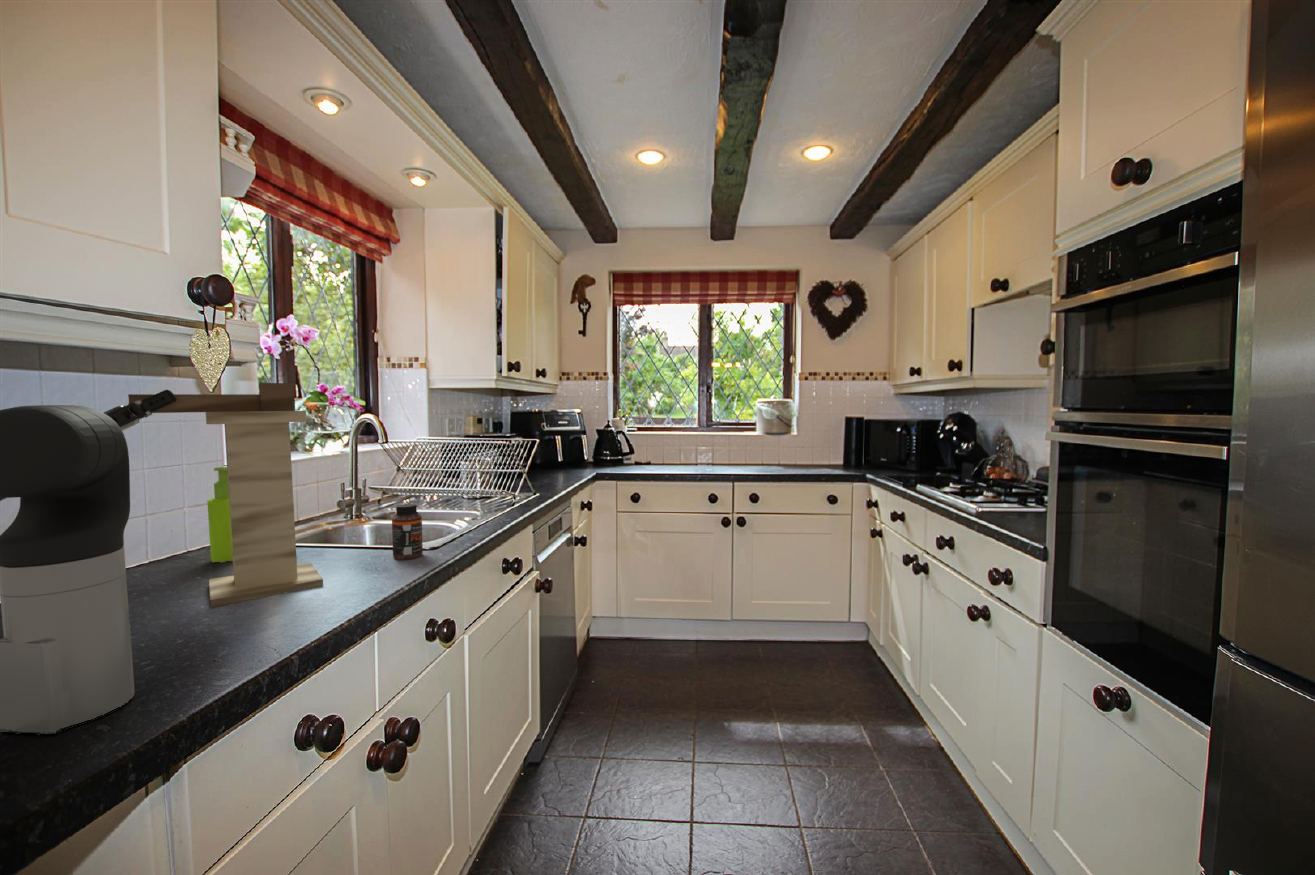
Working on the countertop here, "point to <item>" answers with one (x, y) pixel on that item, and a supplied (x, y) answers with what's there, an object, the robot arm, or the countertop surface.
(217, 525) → the soap dispenser
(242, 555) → the oak stand
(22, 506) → the robot arm
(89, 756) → the countertop surface
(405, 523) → the supplement bottle
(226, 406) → the walnut bar
